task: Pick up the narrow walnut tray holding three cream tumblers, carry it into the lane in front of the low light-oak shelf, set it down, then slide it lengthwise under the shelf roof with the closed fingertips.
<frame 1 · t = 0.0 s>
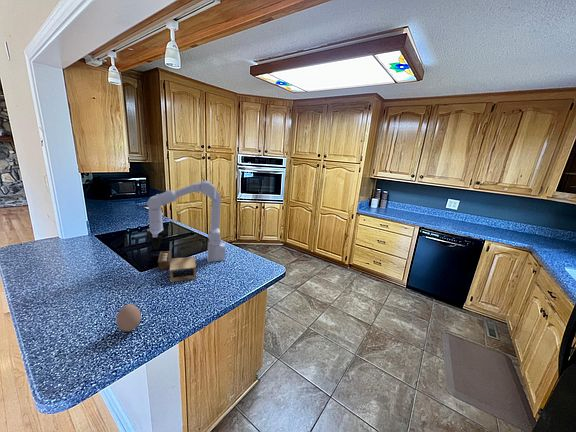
hand: (157, 245, 119), 10 cm above the countertop, fingers open, 7 cm apart
shelf: (183, 273, 114), on the countertop
egg: (130, 329, 77), on the countertop
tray: (164, 264, 122), on the countertop
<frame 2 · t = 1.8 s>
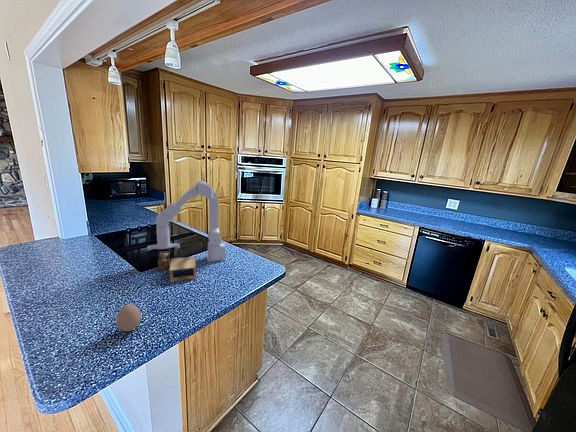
hand: (164, 261, 121), 1 cm above the countertop, fingers closed on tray, 5 cm apart
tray: (164, 264, 122), on the countertop, touching gripper
everything else where it was.
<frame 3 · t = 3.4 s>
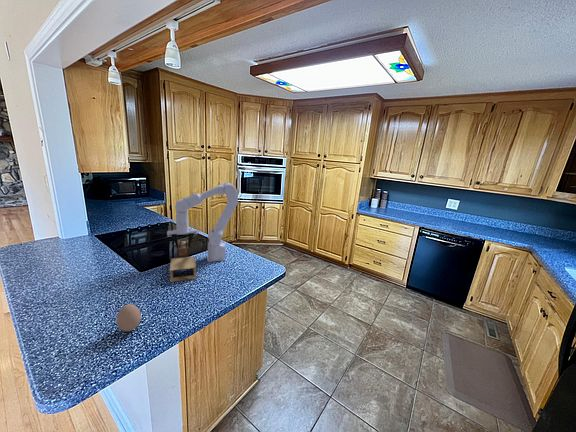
hand: (183, 247, 124), 8 cm above the countertop, fingers closed on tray, 5 cm apart
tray: (183, 251, 125), point 6 cm above the countertop, touching gripper
everything else where it was.
when the fingers open (2 cm above the countertop, at t = 5.0 s): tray stays where it is, on the countertop.
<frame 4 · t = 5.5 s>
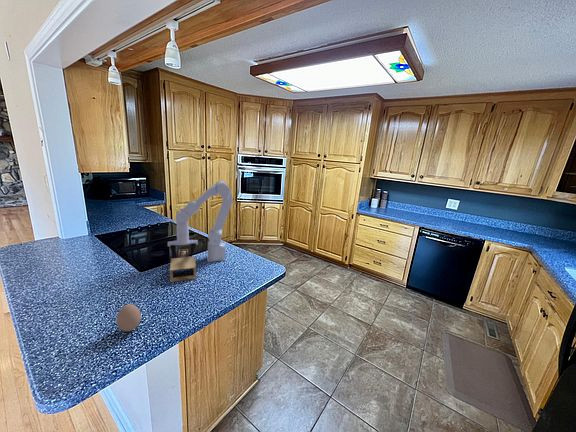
hand: (183, 257, 125), 2 cm above the countertop, fingers open, 7 cm apart
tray: (183, 261, 126), on the countertop
everything else where it was.
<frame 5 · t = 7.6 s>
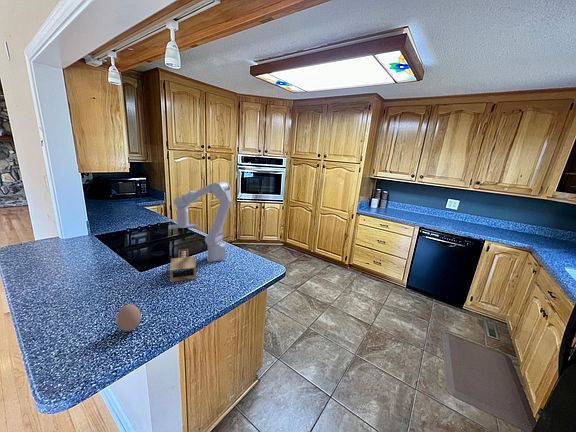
hand: (183, 240, 134), 8 cm above the countertop, fingers closed
nothing on the countertop moved.
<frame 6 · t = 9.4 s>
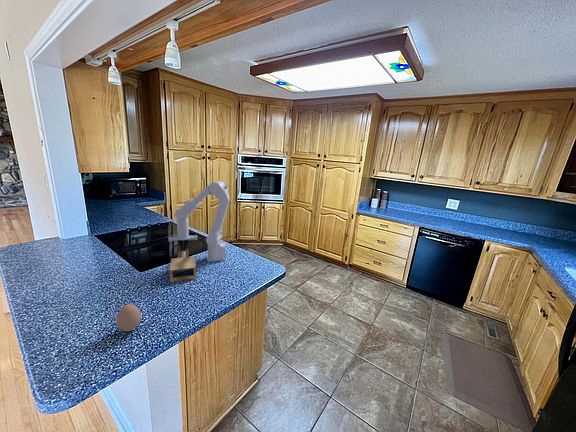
hand: (183, 252, 132), 2 cm above the countertop, fingers closed, pressing on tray
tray: (183, 261, 126), on the countertop, touching gripper
everything else where it was.
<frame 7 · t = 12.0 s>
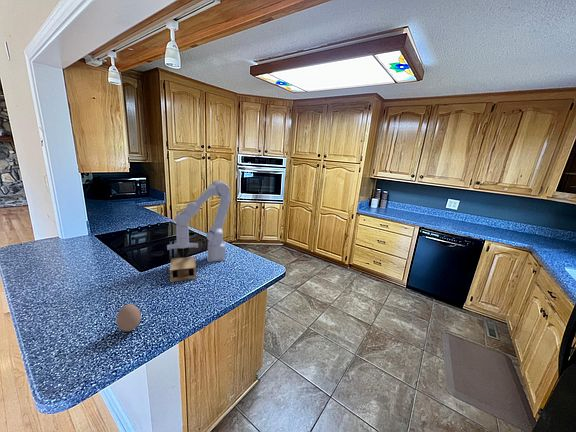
hand: (183, 261, 122), 2 cm above the countertop, fingers closed, pressing on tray
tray: (183, 272, 115), on the countertop, touching gripper
everything else where it was.
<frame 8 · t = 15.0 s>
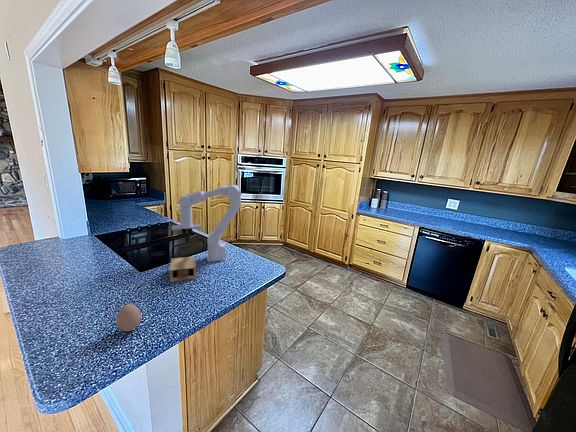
hand: (187, 241, 128), 10 cm above the countertop, fingers closed
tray: (183, 272, 115), on the countertop
everything else where it was.
at the end: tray inside the target area (1.9 cm from its centre), on the countertop; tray tilted 0°; the gripper is holding nothing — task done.
